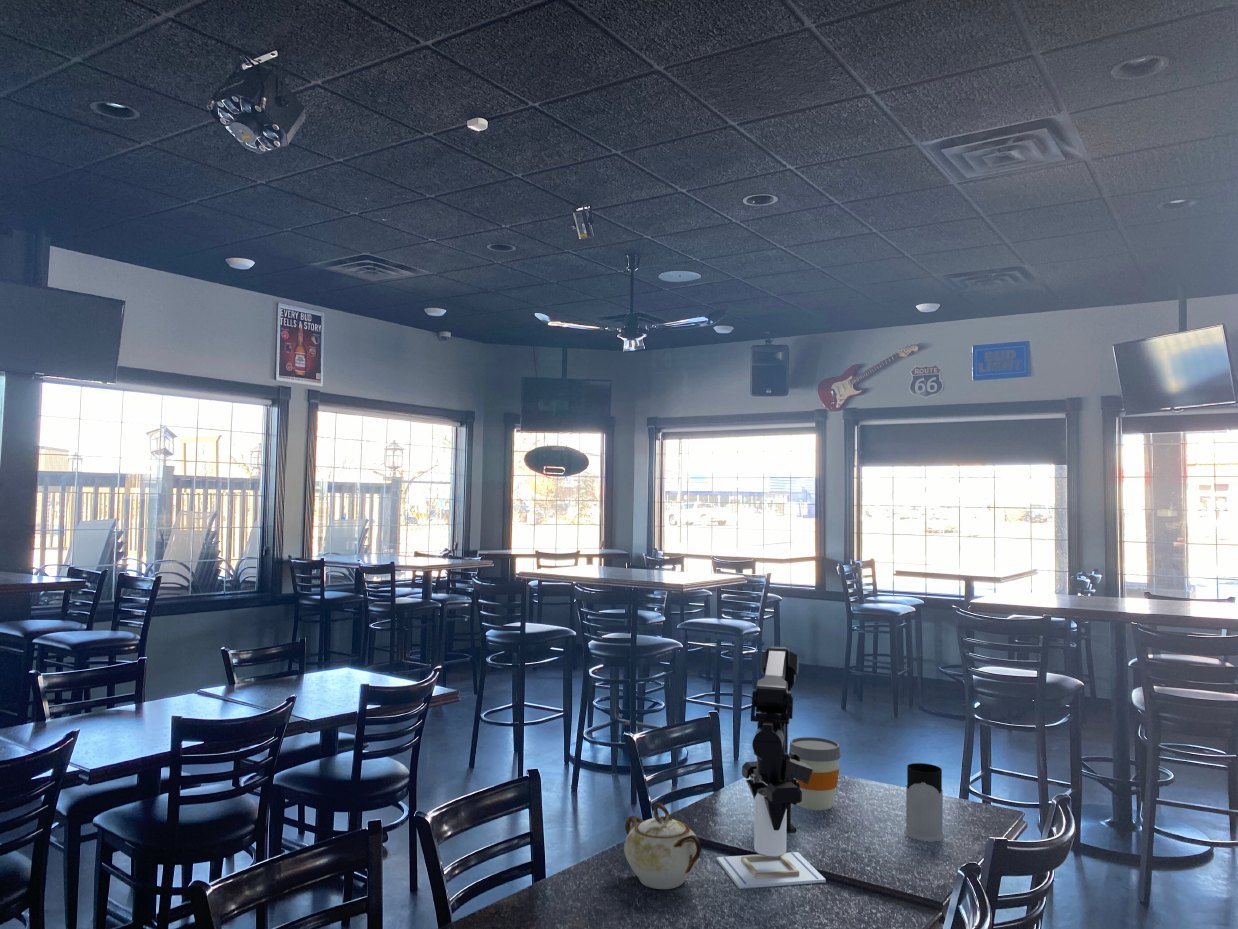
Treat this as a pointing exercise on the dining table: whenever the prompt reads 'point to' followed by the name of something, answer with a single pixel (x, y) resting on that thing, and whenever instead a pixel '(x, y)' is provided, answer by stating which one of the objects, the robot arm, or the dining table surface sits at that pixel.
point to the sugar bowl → (661, 850)
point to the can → (767, 829)
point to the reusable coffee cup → (818, 770)
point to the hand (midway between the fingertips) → (770, 824)
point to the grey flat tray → (748, 880)
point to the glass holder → (924, 802)
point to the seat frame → (747, 863)
